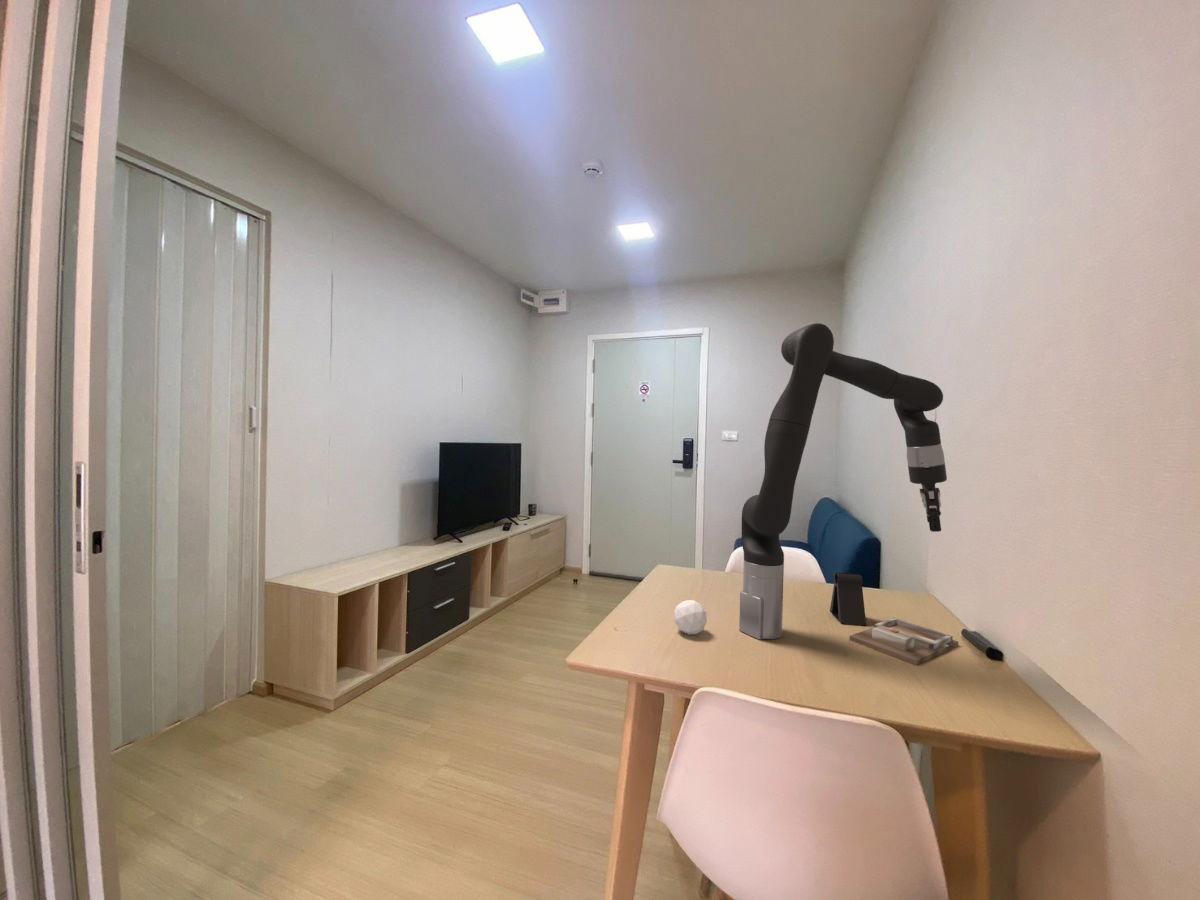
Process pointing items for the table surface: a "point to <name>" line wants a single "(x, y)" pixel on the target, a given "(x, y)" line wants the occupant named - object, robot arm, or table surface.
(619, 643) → the table surface
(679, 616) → the geometric ball
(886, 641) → the mouse trap
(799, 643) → the table surface
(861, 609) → the black tent sign
